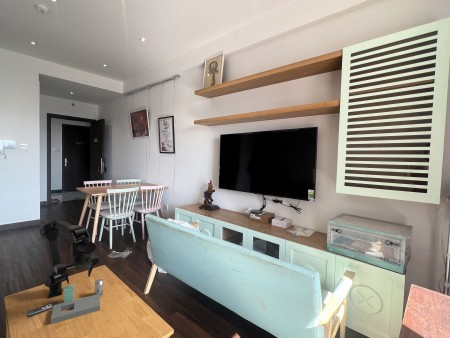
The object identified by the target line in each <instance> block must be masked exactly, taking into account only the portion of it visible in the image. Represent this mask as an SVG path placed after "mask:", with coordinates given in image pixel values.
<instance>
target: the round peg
mask: <svg viewBox="0 0 450 338" xmlns="http://www.w3.org/2000/svg"><path fill="white" fill-rule="evenodd" d="M96 294H99V297H101V296H103V295H104V279H102V278H98V279H96V280H95V281H94V295H96Z"/></svg>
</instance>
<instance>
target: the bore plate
mask: <svg viewBox="0 0 450 338" xmlns="http://www.w3.org/2000/svg"><path fill="white" fill-rule="evenodd" d="M100 297H101V296H100ZM100 297H99V294H96V295H95V294H93V295H89V296H85V297H82V298H77V299H74V300H73V301H69V302H65V303H64V302H62V303H58V304H57V303H56V304H54V305H53V307H52V312H51V316H50V325H53V324H56V323H59V322H64V321H67V320H70V319H74V318H77V317H80V316H85V315H88V314H91V313H94V312H95V313H96V312H98V311H100V310H101V302H100V301H101V300H100V299H101V298H100Z"/></svg>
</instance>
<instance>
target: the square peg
mask: <svg viewBox="0 0 450 338" xmlns="http://www.w3.org/2000/svg"><path fill="white" fill-rule="evenodd" d="M74 289H75V285H74V284H69V285H66V286H64V288H63V303H65V302H69V301H73V300H75V297H74V296H75V295H74V293H75V290H74Z"/></svg>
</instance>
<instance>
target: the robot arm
mask: <svg viewBox="0 0 450 338" xmlns="http://www.w3.org/2000/svg"><path fill="white" fill-rule="evenodd" d="M60 231H61V232H63V233H64V234H66V237H67V238H68V239H69V240H68V243H70V244H71V246H70V247H71V263H70V264H66V263H63V264H62V262H61V255H60V249H59V245H58V237H59V235H60ZM38 233H39V235H40V237H41V239H42V240H43V241H44V242H46V249H47V256H48V260H49V269H48V272H47V278H46V279H45V281H44V282H43V283H44V287H46V288H48V293H47V294H48V295H47V297H46V298H47V299H51V298H54V297H58V296H59V297H60V296H62V295H63V293H64V288H63V286H62V285H63V282H66V283H67V285H70V279H69V273H68V270H69V269H72V268H75V270H76V271H80V270H83V269H84V270H85V269H87V277H88V278H90V277H91V273H92V271H93V269H94V267H95V266H97V265H98V264H99V263H100V261H101V260H100V257H99V256H98V255H92V254H93V253H94V252H95V251H96V248H97V245H96V243H95V242H93V240H92V239H91V236H90V235H91V234H90V233H89V232H88V229H87V228H86V227H85V226H84V225H79V224H78V225H75V224H72V223H70V222H68V221H65V220H63V219H62V218H56V219H52V220H51V221H49V222H48V223H46V224H45V225H43V226H42V227H41V228H40V229H39V232H38ZM86 255H90V256H87V257H86ZM91 255H92V256H91Z"/></svg>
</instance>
